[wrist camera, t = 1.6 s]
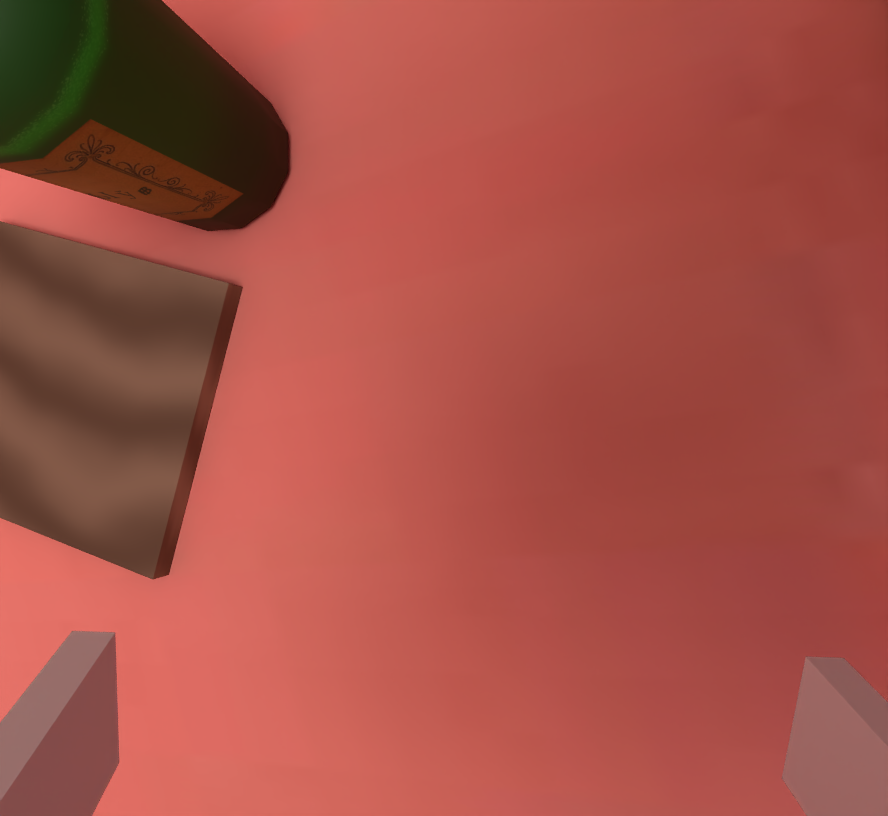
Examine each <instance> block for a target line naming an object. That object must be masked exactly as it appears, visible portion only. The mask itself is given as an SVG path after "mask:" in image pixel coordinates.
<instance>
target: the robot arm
mask: <svg viewBox="0 0 888 816" xmlns="http://www.w3.org/2000/svg"><path fill="white" fill-rule="evenodd" d="M118 764H119V738H118V706H117V674H116V642H115V632H87V631H72V632H71V633H70V635H69V636H68V637H67V638H66V640H65V641H64V642H63V643H62V645H61V646H60V647H59V649H58V650H57V651H56V652H55V654H54V655H53V656H52V657H51V659H50V660H49V661H48V663H47V664H46V665H45V666H44V668H43V669H42V670H41V671H40V673H39V674H38V675H37V677H36V678H35V679H34V680H33V682H32V683H31V684H30V686H29V687H28V688H27V689H26V691H25V692H24V693H23V694H22V696H21V697H20V698H19V700H18V701H17V702H16V703H15V705H14V706H13V707H12V708H11V710H10V711H9V712H8V714H7V715H6V716H5V717H4V719H3V720H2V721H1V722H0V816H92V815H93V813H94V811H95V809H96V807H97V805H98V803H99V801H100V799H101V797H102V795H103V793H104V791H105V789H106V787H107V785H108V783H109V781H110V779H111V777H112V776H113V774H114V772H115V770H116V768H117V766H118ZM782 779H783V781H784V782H785V784H786V785H787V787H788V788H789V790H790V791H791V793H792V794H793V796H794V797H795V799H796V800H797V802H798V803H799V805H800V806H801V808H802V809H803V811H804V812H805V814H806V815H807V816H888V702H887V701H886V700H885V699H884V698H883V697H882V696H881V695H880V694H879V693H878V692H877V691H876V690H875V689H874V688H873V687H872V686H871V685H870V684H869V683H868V682H867V681H866V680H865V679H864V678H863V677H862V676H861V675H860V674H859V673H858V672H857V671H856V670H855V669H854V668H853V667H852V666H851V665H850V664H849V663H848V662H847V661H846V660H845V659H844V658H832V657H806V658H805V663H804V668H803V673H802V678H801V683H800V688H799V693H798V698H797V703H796V709H795V714H794V719H793V724H792V729H791V734H790V739H789V744H788V749H787V754H786V759H785V764H784V769H783V775H782Z"/></svg>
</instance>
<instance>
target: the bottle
mask: <svg viewBox="0 0 888 816" xmlns="http://www.w3.org/2000/svg"><path fill="white" fill-rule="evenodd" d="M0 168H2V169H5V170H8V171H11V172H15V173H18V174H21V175H25V176H28V177H31V178H35V179H38V180H41V181H45V182H48V183H51V184H54V185H58V186H61V187H64V188H68V189H71V190H74V191H78V192H81V193H84V194H88V195H91V196H94V197H97V198H101V199H104V200H107V201H111V202H114V203H117V204H121V205H124V206H127V207H131V208H134V209H137V210H140V211H144V212H147V213H150V214H154V215H157V216H160V217H164V218H167V219H170V220H174V221H177V222H180V223H183V224H187V225H190V226H193V227H197V228H200V229H203V230H207V231H213V230H225V229H238V228H242V227H244V226H245V225H246V224H248V223H249V222H250V221H252V220H253V219H254V218H256V217H257V216H259V215H260V214H261V213H263V212H264V211H265V210H267V209H268V208H270V207H271V205H272V203H273V201H274V199H275V197H276V195H277V193H278V191H279V189H280V187H281V185H282V183H283V181H284V179H285V177H286V175H287V173H288V133H287V131H286V129H285V128H284V126H283V124H282V122H281V120H280V119H279V117H278V115H277V113H276V112H275V110H274V108H273V106H272V104H271V103H270V102H269V101H268V100H267V99H266V98H265V97H264V96H263V95H262V94H261V93H260V92H259V91H257V90H256V89H255V88H254V87H253V86H252V85H251V84H250V83H249V82H248V81H247V80H246V79H245V78H244V77H243V76H241V75H240V74H239V73H238V72H237V71H236V70H235V69H234V68H233V67H232V66H231V65H230V64H229V63H228V62H227V61H226V60H224V59H223V58H222V57H221V56H220V55H219V54H218V53H217V52H216V51H215V50H214V49H213V48H212V47H211V46H210V45H208V44H207V43H206V42H205V41H204V40H203V39H202V38H201V37H200V36H199V35H198V34H197V33H196V32H195V31H194V30H193V29H191V28H190V27H189V26H188V25H187V24H186V23H185V22H184V21H183V20H182V19H181V18H180V17H179V16H178V15H177V14H175V13H174V12H173V11H172V10H171V9H170V8H169V7H168V6H167V5H166V4H165V3H164V2H163V1H162V0H0Z"/></svg>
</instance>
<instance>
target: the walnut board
mask: <svg viewBox="0 0 888 816" xmlns="http://www.w3.org/2000/svg"><path fill="white" fill-rule="evenodd" d="M241 291H242V287H240V286H237V285H233V284H230V283H227V282H223V281H219V280H215V279H212V278H208V277H204V276H201V275H197V274H193V273H190V272H186V271H182V270H178V269H175V268H171V267H167V266H164V265H160V264H156V263H152V262H149V261H145V260H141V259H138V258H134V257H130V256H127V255H123V254H119V253H115V252H112V251H108V250H104V249H101V248H97V247H93V246H89V245H86V244H82V243H78V242H75V241H71V240H67V239H64V238H60V237H56V236H52V235H49V234H45V233H41V232H38V231H34V230H30V229H26V228H23V227H19V226H15V225H12V224H8V223H4V222H1V221H0V518H2V519H5V520H7V521H10V522H12V523H15V524H17V525H20V526H22V527H24V528H27V529H29V530H32V531H34V532H37V533H39V534H42V535H44V536H47V537H49V538H52V539H54V540H57V541H59V542H62V543H64V544H66V545H69V546H71V547H74V548H76V549H79V550H81V551H84V552H86V553H89V554H91V555H94V556H96V557H99V558H101V559H104V560H106V561H108V562H111V563H113V564H116V565H118V566H121V567H123V568H126V569H128V570H131V571H133V572H136V573H138V574H141V575H143V576H146V577H148V578H150V579H156V578H159V577H163V576H166V575H169V571H170V567H171V563H172V559H173V555H174V551H175V547H176V544H177V540H178V536H179V532H180V528H181V524H182V520H183V516H184V512H185V509H186V505H187V501H188V497H189V493H190V489H191V485H192V481H193V477H194V474H195V470H196V466H197V462H198V458H199V454H200V450H201V446H202V442H203V439H204V435H205V431H206V427H207V423H208V419H209V415H210V411H211V407H212V404H213V400H214V396H215V392H216V388H217V384H218V380H219V376H220V373H221V369H222V365H223V361H224V357H225V353H226V349H227V345H228V341H229V338H230V334H231V330H232V326H233V322H234V318H235V314H236V310H237V306H238V303H239V299H240V295H241Z"/></svg>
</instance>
